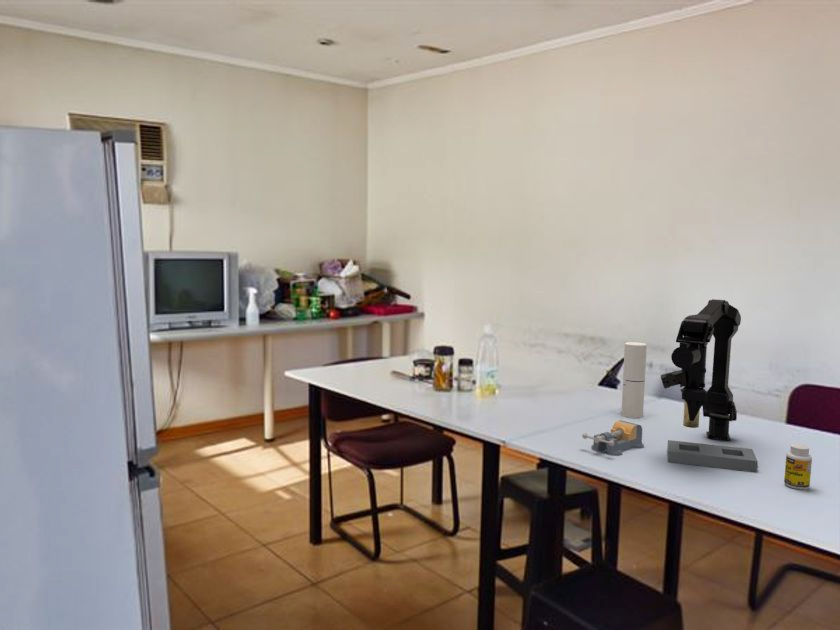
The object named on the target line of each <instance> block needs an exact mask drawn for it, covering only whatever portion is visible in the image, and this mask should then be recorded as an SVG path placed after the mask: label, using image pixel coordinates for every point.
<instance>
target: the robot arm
mask: <svg viewBox="0 0 840 630" xmlns="http://www.w3.org/2000/svg"><path fill="white" fill-rule="evenodd" d="M741 322H742V316H741V312H739V309H738V308H736V307H734V306H733V305H731V304H730V303H729V301H728V300H725V299H714V298H712V299H709V300H708V301H707V304H706V305H705V306H704V307H703V308H702V309H701V310H700V311H699V312H698V313H697V314H691V315H687V316H685V318H683V320H682V321H681V323H680V327H679V330H678V333H677V336H676V338H675V339H676V340H675V342H676V343H678V344H679V346H678V347H676V348H675V349H674V350H673V351H672V353H671V355H670V357H671V361H672V363H673V365H674V366H675V367H677V368H679V369H680V370H674V371H672V372H667V373H663V374H661V375H660V379H661V382H662V383H661V384H662V386H663V388H664V389H670V387H674V386H678V385H679V387H680V392H681V400H683V401H684V402H685V401H686V402H687V407H688V414H689V420H690V421H694V419H695V417H696V416H697V414H698V412H699V410H701V408H702V416H703V418H704V417H705V418H708V431H705V432H706V437H707V439H709V440H710V439H711V440H718V441H719V440H721V441H729V442H730V441H731V440H732V439H731V435H730V433H729V432H730V422H735V421H737V419H738V417H737V416H738V415H737V413H738V412H737V408H736V403H735V401H734V394H733V392H732V391H731V388H730V387H729V380H730V378H729V377H730V365H731V364H730V363H731V351H732V350H731V349H732V339H733V338H734V336H735V334H737V332H738V331H739V327H740V326H741ZM712 336H713V337H712ZM712 338H714V344H713V345H714V347H713V358H712V360H713V361H712V375H711V386H710V387H709V389H708V390H706V389H705V388H706V382H705V381H706V373H707V368H706V367H707V366H706V365H707V351H708V350H707V349H708V344H709V343H711V339H712Z"/></svg>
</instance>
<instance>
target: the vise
mask: <svg viewBox="0 0 840 630" xmlns="http://www.w3.org/2000/svg"><path fill="white" fill-rule="evenodd" d="M581 436H582V437H581V438H582V439H585V440H586V439H591V440H593V444H592V445H591V446H590V447H591V450H594V451H598V452H599V451H602V450H606V454H607V455H611V456H615V457H616V456H617V457H618V456H622V455H623V452H625V451H628V450H632V449H644V447H645V444H644V443H643V427H642V425H641V424H637V423H634V422H630V421H625V420H621V419H620V420H616V421H615V422H614V423H613V425H612V428H611V429H610V432H609V431H605V432H601V433H598V434H597V433H596V434H594V435H593V436H590V435H588V433H585V432H583V434H582V435H581Z"/></svg>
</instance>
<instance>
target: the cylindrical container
mask: <svg viewBox="0 0 840 630" xmlns="http://www.w3.org/2000/svg"><path fill="white" fill-rule="evenodd" d="M647 348H648V344H647V343H644V342H639V341H638V342H637V341H634V342H633V341H632V342H631V341H627V342H625V343H624V352H623V353H624V354H623V356H624V357H623V371H622V372H623V373H622V374H623V375H622V393H621V394H622V395H621V396H622V397H621V411H620V413H621V416H622V417H625V418H629V419H640V418H643V417H644V408H645V407H644V404H645V388H646V386H645V385H646V367H647V366H646V364H647V351H648V349H647Z"/></svg>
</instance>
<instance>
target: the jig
mask: <svg viewBox="0 0 840 630" xmlns="http://www.w3.org/2000/svg"><path fill="white" fill-rule="evenodd" d="M666 450H667V451H666V452H667V462H668V463H674V464H683V465H691V466H692V465H693V466H701V467H709V468H715V469H716V468H718V469H724V470H725V469H727V470H734V471H735V470H736V471H741V472H742V471H745V472H753V473H757V472H758V463H759V462H758V459H757V457H756V454H755V453H754V450H753V449H752V448H749V447H748V448H747V447H738V446H737V447H736V446H728V445H720V444H719V445H718V444H709V443H701V442H700V443H699V442H698V443H697V442H690V441H681V440H679V441H678V440H673V439H672V440H670V439H668V440H667V449H666Z"/></svg>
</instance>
